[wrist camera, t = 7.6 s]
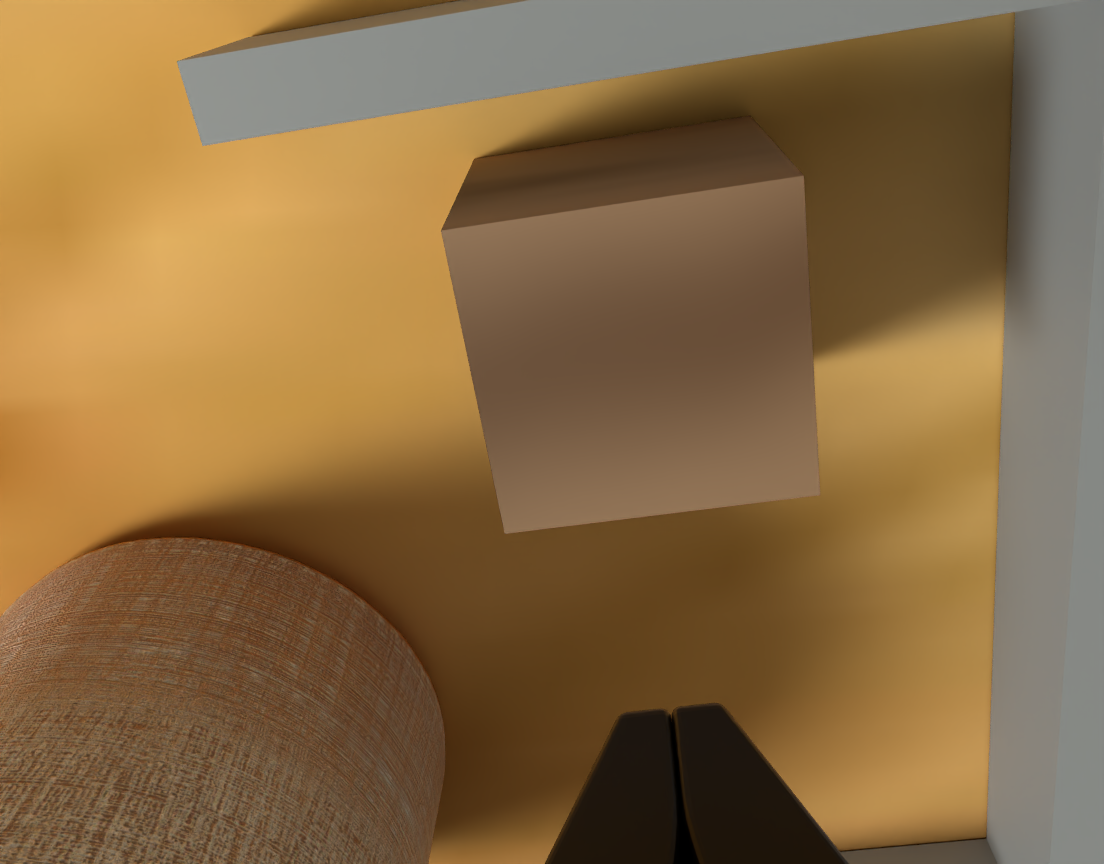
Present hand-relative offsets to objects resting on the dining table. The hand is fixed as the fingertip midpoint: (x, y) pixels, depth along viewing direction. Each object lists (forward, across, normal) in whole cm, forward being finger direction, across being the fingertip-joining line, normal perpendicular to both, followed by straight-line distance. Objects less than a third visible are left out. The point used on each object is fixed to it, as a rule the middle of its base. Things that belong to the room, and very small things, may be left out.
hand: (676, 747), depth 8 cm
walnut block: (+13, 0, 0) cm, 13 cm away
